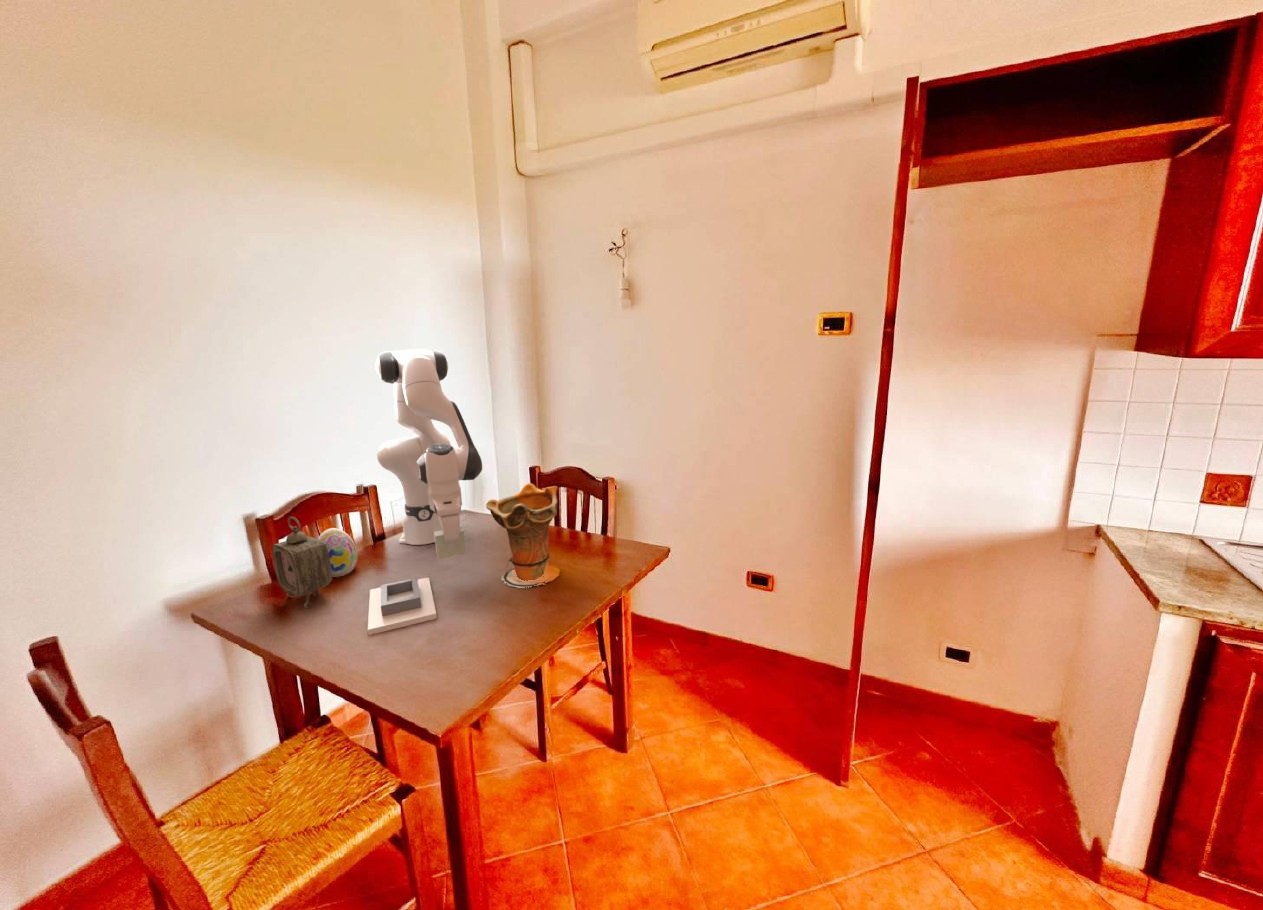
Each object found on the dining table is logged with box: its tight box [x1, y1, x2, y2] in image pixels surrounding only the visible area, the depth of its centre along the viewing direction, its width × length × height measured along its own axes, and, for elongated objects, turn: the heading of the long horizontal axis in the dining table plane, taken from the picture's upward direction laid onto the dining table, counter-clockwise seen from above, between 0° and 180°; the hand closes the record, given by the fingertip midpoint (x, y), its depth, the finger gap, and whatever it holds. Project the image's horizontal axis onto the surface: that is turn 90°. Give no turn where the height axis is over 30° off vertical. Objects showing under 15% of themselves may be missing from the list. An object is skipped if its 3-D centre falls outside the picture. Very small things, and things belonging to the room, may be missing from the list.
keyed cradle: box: [367, 577, 438, 636], centre depth 138 cm, size 24×16×4 cm, turn 26°
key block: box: [434, 526, 467, 560], centre depth 147 cm, size 4×8×7 cm, turn 116°
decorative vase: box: [485, 482, 559, 589], centre depth 151 cm, size 21×23×28 cm
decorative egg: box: [317, 527, 358, 578], centre depth 159 cm, size 12×12×15 cm
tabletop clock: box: [271, 516, 333, 608], centre depth 141 cm, size 14×9×25 cm, turn 56°
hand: (450, 545), depth 147 cm, fingers closed on key block, 4 cm apart
